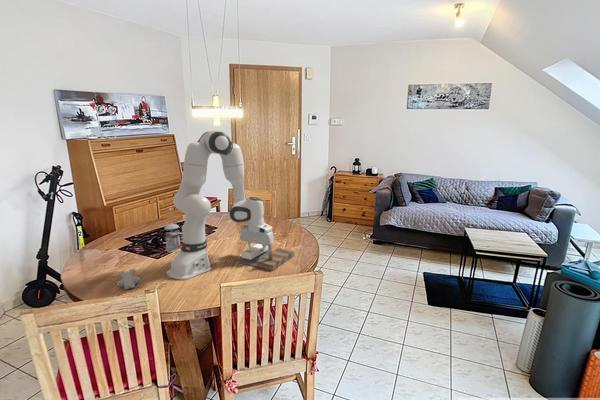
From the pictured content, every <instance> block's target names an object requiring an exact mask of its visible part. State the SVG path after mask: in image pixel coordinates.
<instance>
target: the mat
mask: <svg viewBox="0 0 600 400" xmlns="http://www.w3.org/2000/svg"><path fill="white" fill-rule="evenodd" d="M273 251H274V250H272V252H273ZM267 255H268V250H266V251H265V252H263V253H261V254H260V255H258V256H256V257H255V258H253V259H252V260H250V259H246V258H242V256H241V257H239V258H238V259H236V260H234V263H238V264H242V265H246V266H251V267H257V261H258V260H260V259H262V258H263V257H265V256H267Z"/></svg>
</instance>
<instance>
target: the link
mask: <svg viewBox="0 0 600 400" xmlns="http://www.w3.org/2000/svg"><path fill="white" fill-rule="evenodd" d="M261 248H263V246H262V244H256V243H255V244H254V245H252V247H248V248H246V249H245V250H243V251H242V252H241V257H242V258H246V259H250V260H252V259H253V258H255V257H256V256H258V255H260V254H261V253H263V252H261ZM266 250H268V246H267V245H266V247H265V251H266ZM265 251H264V252H265Z"/></svg>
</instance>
